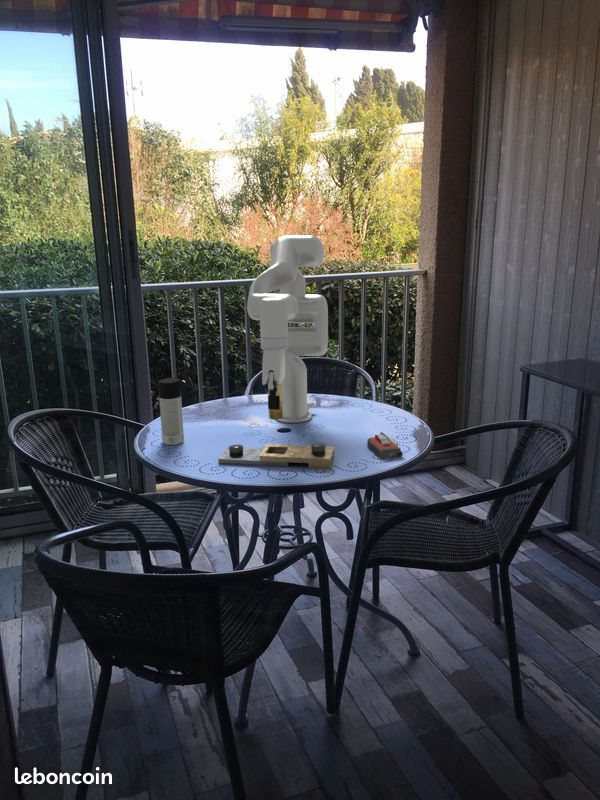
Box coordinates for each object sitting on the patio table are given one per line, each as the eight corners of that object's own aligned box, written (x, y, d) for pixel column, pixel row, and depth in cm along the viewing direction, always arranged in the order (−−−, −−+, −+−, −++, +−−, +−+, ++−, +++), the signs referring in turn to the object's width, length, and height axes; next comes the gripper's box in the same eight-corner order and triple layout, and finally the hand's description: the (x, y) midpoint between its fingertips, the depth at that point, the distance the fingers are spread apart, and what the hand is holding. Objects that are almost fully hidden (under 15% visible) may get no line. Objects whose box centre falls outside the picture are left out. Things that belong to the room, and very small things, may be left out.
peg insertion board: (227, 451, 199) (227, 435, 198) (334, 456, 194) (334, 440, 193) (218, 463, 190) (217, 447, 188) (330, 469, 185) (330, 452, 183)
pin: (275, 414, 191) (274, 373, 188) (285, 417, 188) (285, 375, 185) (265, 417, 188) (264, 376, 185) (276, 420, 185) (275, 378, 182)
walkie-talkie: (409, 458, 193) (384, 436, 212) (410, 444, 192) (384, 423, 210) (381, 461, 191) (358, 439, 210) (381, 447, 190) (358, 426, 208)
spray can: (188, 441, 209) (184, 379, 203) (173, 447, 203) (168, 384, 198) (173, 437, 212) (169, 376, 207) (157, 443, 207) (153, 381, 202)
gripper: (267, 337, 191) (268, 398, 196) (254, 348, 175) (256, 414, 180) (293, 337, 190) (293, 399, 195) (282, 348, 174) (283, 415, 179)
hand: (275, 406), depth 187 cm, fingers closed on pin, 4 cm apart
